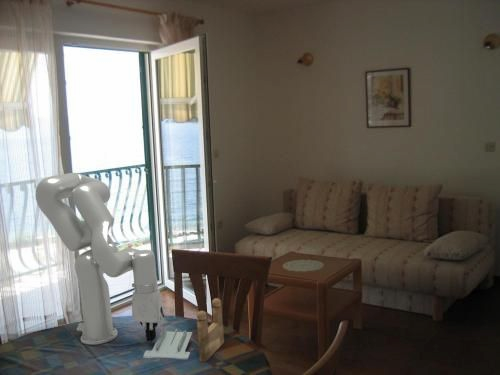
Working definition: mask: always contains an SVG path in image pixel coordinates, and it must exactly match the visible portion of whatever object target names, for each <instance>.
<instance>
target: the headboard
mask: <svg viewBox="0 0 500 375" xmlns="http://www.w3.org/2000/svg"><path fill="white" fill-rule="evenodd" d="M211 304H212V308H211V309H212V323H211V324H210V325H208V317H207V316H208V314H207V312H206V311H205V310H200V311H198V312H197V314H196V318H197V321H196V322H197V323H196V324H197V337H198V350H199V362H203V363H206V362H207V361H209V359H210V358H211V357H212V356H213V355H214V354H215V352H216V351H217V350H219V349H220V347H221V346H222V345H223V344H224V343H225V337H224V322H223V308H222V300H221V299H220V298H218V297H217V298H216V297H215V298H214V299H212V301H211Z"/></svg>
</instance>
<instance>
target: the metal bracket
mask: <svg viewBox="0 0 500 375" xmlns="http://www.w3.org/2000/svg"><path fill="white" fill-rule="evenodd" d="M192 335H193V332H192V331H187V330H183V331H178V328H176V329H175V331H167V330H166V329H163V330H162V331H160V333H159V336H158V338H157V339H156V341H155V343H154V346H153V348H152V350H145V351H144V353H143V355H142V358H144V359H145V358H146V359H147V358H148V359H153V358H155V359H174V360H175V359H176V360H188V359H189V358H190V355H191V351H186V350H187V348H188V345H189V343H190V339H191V337H192Z"/></svg>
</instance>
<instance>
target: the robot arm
mask: <svg viewBox="0 0 500 375" xmlns="http://www.w3.org/2000/svg"><path fill="white" fill-rule="evenodd" d="M67 198H69V199H71V200H72V202H73V204H74V206H75V208H76V209H77V211H78V213H79V214H80V215H81V217H82V219H83V220H80V218H79V217H78V216H77V215H76V213H75V211H74V209H73V208H72V207H71V206H70V205H68V204H67V203H65V202H64V201H63V199H65V200H66V199H67ZM110 198H111V191H110V188H109V186H108V185H107V183H105V182H104V181H102V180H99V179H98V178H97V179H96V178H94V177H90V176H87V175H84V174H81V173H78V172H69V173H68V172H67V173H63V174H56V175H52V176H48V177H45V178H43V179H42V180H40V181H39V182H38V184H37V186H36V187H35V201H36V204H37V206H38V208H39V210H40V211H41V212H42V214H44V216H45V217H46V218H47V219H48V221H49V222H50V224H51V225H52V227H53V229H54V230H55V232H56V233H57V235H58V237H59V239H60V240H61V241H62V243H63V245H64V247H66V249H67V250H69V251H70V252H78V251H81V250H84V249H87V248H90V249H88V250H86V251H84V252H82V253H80V254H79V255H78V256H77V258H76V259H75V260H74V261H75V262H74V270H75V274H76V277H77V280H78V285H79V291H80V292H79V293H80V299H81V300H80V301H81V308H82V309H81V311H82V320H83V322H79V323H78V325H77V327H76V331H77V332H82V334H81V336H80V342H81V343H82V344H85V345H88V346H89V345H90V346H91V345H95V346H96V345H101V344H105V343H108V342H110V341H112V340H114V339H116V338H117V336H118V334H119V332H118V329H117V328H115V327H114V326H113V318H112V315H113V314H112V307H111V297H110V288H109V283H108V282H107V280H106V278H105V276H104V274H105V275H106V276H107V277H110V278H118V277H120V276H122V275H124V274H127V273H129V272H131V271H132V274H133V276H132V277H133V283H132V284H131V287H132V288H133V289H134V291H132V296H131V297H132V298H131V314H132V319H133V321H134V322H135V323H137V324H140V325H141V327H142V328H143V330H145V337H146V338H145V339H146V342H153V341H154V340H155V339H156V338H157V331H156V328H157V327H158V326H162V325H163V324H164V323H165V319H164V318H165V308H164V304H163V298H162V294H161V291H160V290H159V288H158V277H157V266H156V256H155V252H154V251H153V250H152V249H151V250H150V249H141V250H140V249H137V248H133V247H126V248H124V249H121V250H119V249H118V247H117V246H116V243H115V242H114V240H113V239H112V237H111V236H110V235H109V231H110V228H111V226H113V224H114V217H113V214H111V212H110V210H109V209H108V207H107V205H106V203H107V202H108V201H109V200H110Z"/></svg>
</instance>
